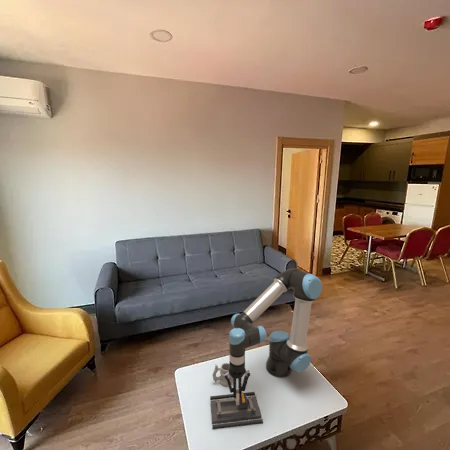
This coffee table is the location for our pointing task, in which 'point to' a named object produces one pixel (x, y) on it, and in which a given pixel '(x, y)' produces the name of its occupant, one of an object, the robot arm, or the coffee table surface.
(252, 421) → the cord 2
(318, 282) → the robot arm
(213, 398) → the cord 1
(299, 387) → the coffee table surface
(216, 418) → the breaker panel
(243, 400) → the breaker toggle
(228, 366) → the mug
